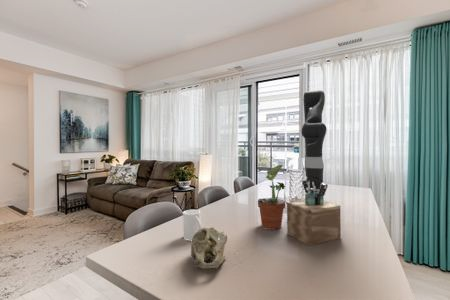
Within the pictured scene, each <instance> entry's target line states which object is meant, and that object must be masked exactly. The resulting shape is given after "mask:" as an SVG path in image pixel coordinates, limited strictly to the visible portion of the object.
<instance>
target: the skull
mask: <svg viewBox="0 0 450 300" xmlns="http://www.w3.org/2000/svg"><path fill="white" fill-rule="evenodd" d="M218 239H219V240H218ZM190 242H191V243H190V257H191V261H193V264H194V265H195V266H196V267H198V268H201V269H211V268H212V269H218V268H219V267H220V266H221V264H222V263H224V260H225V261H226V259H225V258H226V255H224V252H225V245H226V243H227V242H228V235H227V234H225V232H224V231H221V232H219V231H218V230H217V229H215V228H214V226H213V227H209V228H208V227H201V229H200V230H198V231H197V232H196V233H195V235H194V236H193V238H192V241H190ZM209 259H210V261H212V262H208V263H207V262H206V261H208V260H209ZM204 261H205V262H204Z"/></svg>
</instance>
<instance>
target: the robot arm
mask: <svg viewBox="0 0 450 300" xmlns="http://www.w3.org/2000/svg"><path fill="white" fill-rule="evenodd" d="M302 99H303V111H304V112H303V113H304V123H303V125H302V127H301V136H302V137H303V138H304V149H305V154H304V171H305V177H306V180H302V181H301V183H302V186H303V189H304V192H305V193H313V192H315V205H320V197H321V196H323V197H325V195H326V191H327V189H328V184H326V183H324V169H325V168H324V160H323V147H324V146H323V145H324V141H325V136H326V135H327V129H328V128H327V126H326V125H325V123H324V122H323V111H324V108H325V101H326V95H325V92H324V90H320V89H319V90H310V91H309V90H308V91H304V93H303V98H302ZM317 192H318V193H317ZM305 193H304V194H305Z"/></svg>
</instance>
